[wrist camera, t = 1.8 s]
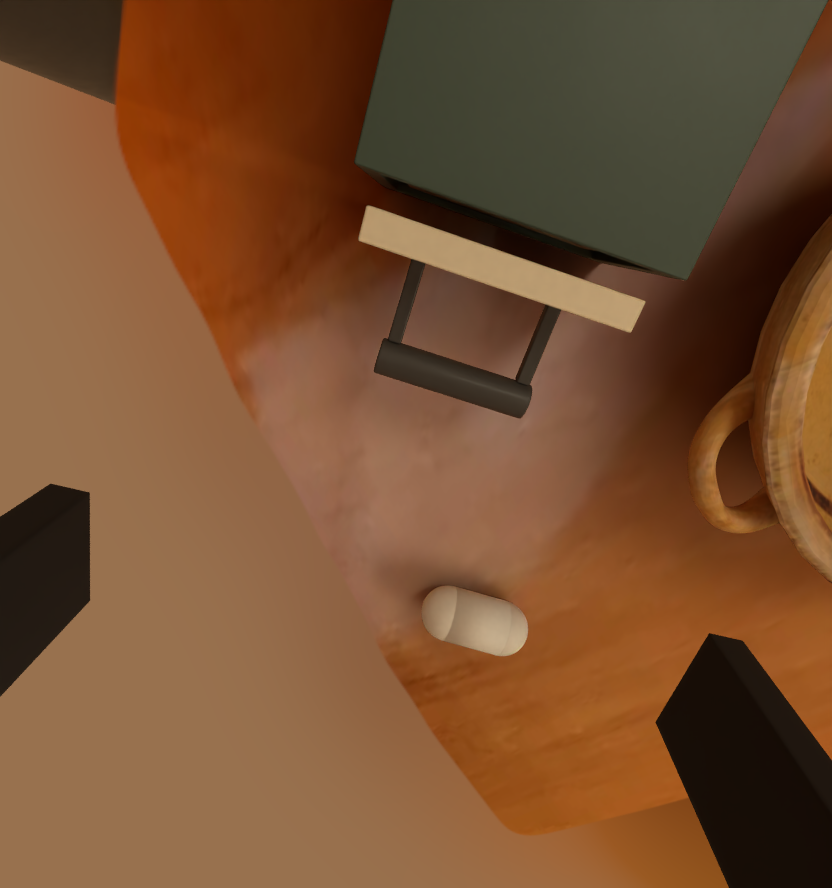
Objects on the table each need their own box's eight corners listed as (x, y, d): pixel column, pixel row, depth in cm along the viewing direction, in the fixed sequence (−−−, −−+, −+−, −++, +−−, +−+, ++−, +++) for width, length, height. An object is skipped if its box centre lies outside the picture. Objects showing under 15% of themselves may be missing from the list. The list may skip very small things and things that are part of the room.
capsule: (415, 607, 35) (413, 645, 32) (431, 568, 34) (430, 603, 31) (512, 634, 36) (519, 674, 32) (531, 597, 34) (541, 634, 31)
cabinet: (601, 263, 26) (687, 281, 17) (382, 186, 25) (353, 163, 16) (749, -74, 21) (977, -295, 12) (480, -188, 20) (515, -520, 11)
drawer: (535, 399, 28) (570, 458, 21) (351, 340, 27) (321, 380, 20) (704, 8, 21) (841, -103, 14) (467, -88, 20) (484, -259, 13)
